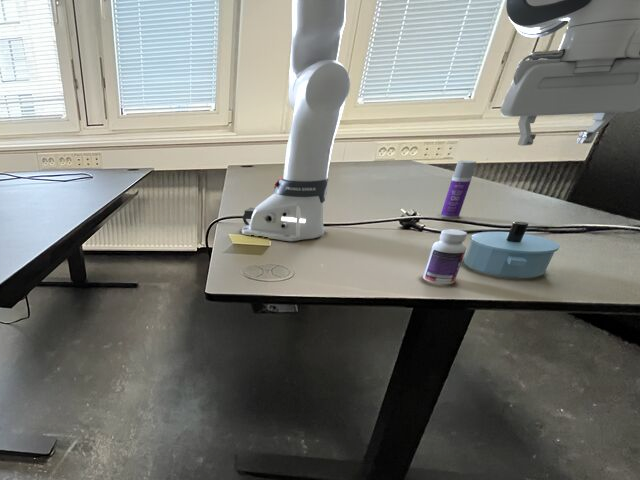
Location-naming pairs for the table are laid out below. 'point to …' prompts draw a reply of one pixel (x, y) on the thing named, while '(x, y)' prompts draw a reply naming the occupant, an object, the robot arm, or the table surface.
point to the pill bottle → (446, 257)
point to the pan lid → (515, 241)
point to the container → (458, 189)
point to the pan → (506, 262)
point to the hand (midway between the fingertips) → (553, 144)
